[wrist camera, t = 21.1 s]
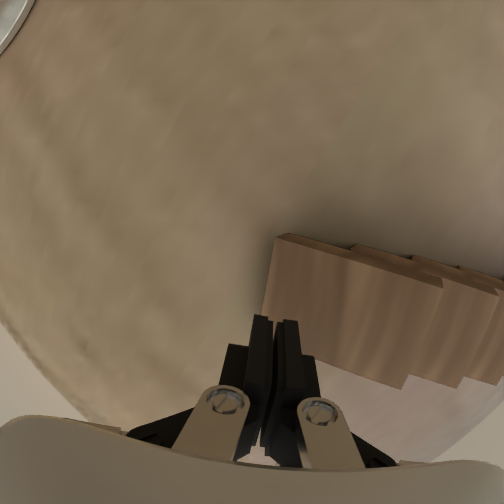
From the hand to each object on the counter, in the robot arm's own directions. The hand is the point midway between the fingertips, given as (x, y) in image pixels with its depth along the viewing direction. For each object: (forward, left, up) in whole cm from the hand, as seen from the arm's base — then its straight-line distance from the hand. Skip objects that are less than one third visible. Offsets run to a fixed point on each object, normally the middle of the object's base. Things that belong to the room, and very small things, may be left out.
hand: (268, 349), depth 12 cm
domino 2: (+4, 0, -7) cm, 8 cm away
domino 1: (0, 0, -7) cm, 7 cm away
